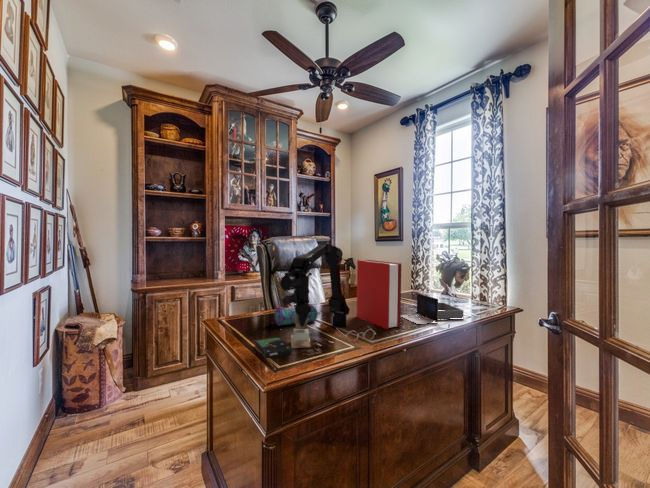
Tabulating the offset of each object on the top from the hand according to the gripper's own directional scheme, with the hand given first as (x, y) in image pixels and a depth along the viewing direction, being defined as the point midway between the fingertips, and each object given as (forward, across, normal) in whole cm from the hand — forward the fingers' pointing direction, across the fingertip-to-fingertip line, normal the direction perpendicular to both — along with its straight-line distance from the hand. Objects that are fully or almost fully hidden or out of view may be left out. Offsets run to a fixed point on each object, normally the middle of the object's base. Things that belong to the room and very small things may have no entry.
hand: (301, 324), depth 123 cm
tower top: (+6, 0, 0) cm, 6 cm away
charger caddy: (+8, -38, +83) cm, 92 cm away
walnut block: (+1, 0, 0) cm, 1 cm away
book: (+8, -29, +42) cm, 52 cm away
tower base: (+8, 0, 0) cm, 9 cm away
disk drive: (+9, +5, -11) cm, 15 cm away
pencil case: (+8, -30, -1) cm, 31 cm away
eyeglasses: (+9, -10, +25) cm, 28 cm away
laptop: (+9, -30, +66) cm, 73 cm away
